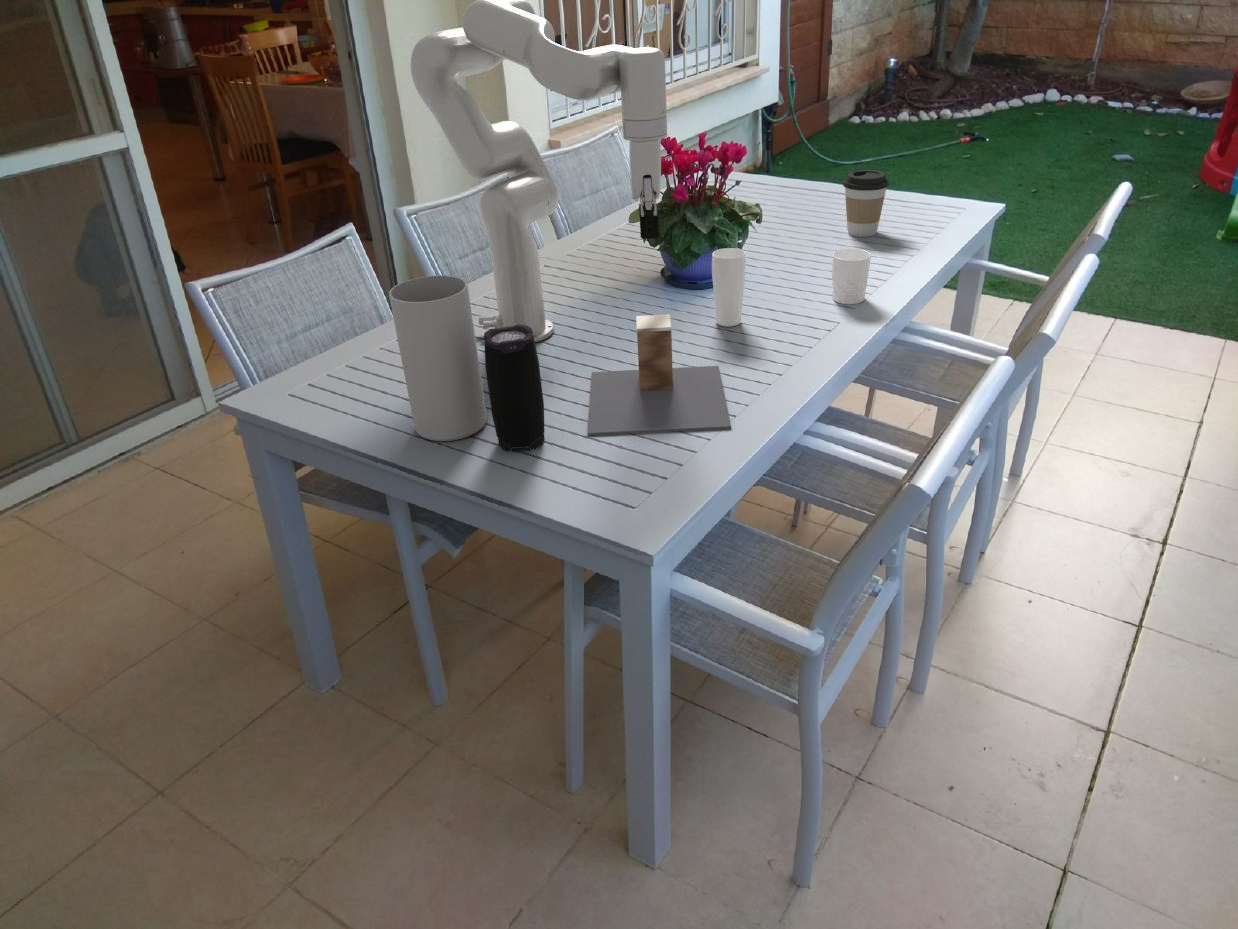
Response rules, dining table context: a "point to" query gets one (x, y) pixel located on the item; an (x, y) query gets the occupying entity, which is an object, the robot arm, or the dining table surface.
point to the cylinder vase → (439, 356)
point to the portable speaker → (514, 387)
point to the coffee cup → (864, 201)
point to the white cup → (850, 275)
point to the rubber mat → (657, 403)
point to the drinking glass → (728, 285)
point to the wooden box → (654, 352)
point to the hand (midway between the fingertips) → (649, 230)
